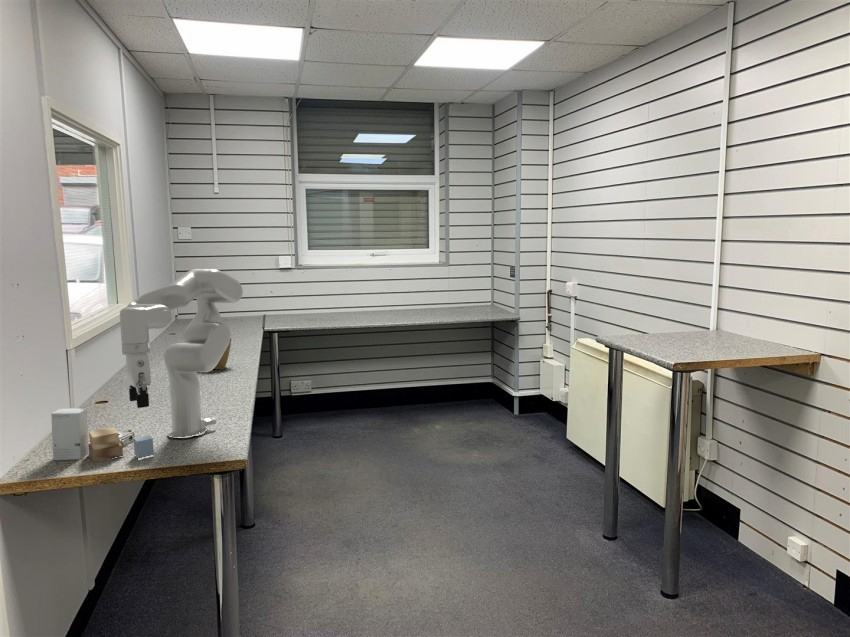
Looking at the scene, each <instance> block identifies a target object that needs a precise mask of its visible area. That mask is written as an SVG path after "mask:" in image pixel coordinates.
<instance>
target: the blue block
mask: <svg viewBox="0 0 850 637" xmlns="http://www.w3.org/2000/svg"><path fill="white" fill-rule="evenodd" d="M132 439H133V450H134V452H133V453H134V456H135V455H136V457H137V458H142V457H146V456H150V455H154V454H155V453H154V440H153V439H154V438H153V437H152V436H151V435H150V434H147V435H142V436H135V437H133V438H132ZM154 456H155V455H154ZM136 457H135V458H136Z"/></svg>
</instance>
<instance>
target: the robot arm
mask: <svg viewBox="0 0 850 637" xmlns="http://www.w3.org/2000/svg"><path fill="white" fill-rule="evenodd" d="M243 292H244V291H243V287H242V284H241V283H240V281H238V280H237V278H235V277H233V276H231V275H229V274H227V273H226V272H223V271H221V270H219V269H214V268H203V269H202V268H193V269H190V270H187V271H186V272H185V273H184V274H182V275H181V276H179V277H178V278H177V279H176V280H174V281H173V282H171V283H170V284H169V285H167V286H163V287H160V288H158V289H155V290H152V291H150V292H149V291H148V292H147V293H144V294H141V295H139V296H138V297H136V298H135V299H134V300H132V301H131V302H129V303H128V305H127V306H126V307H124V308H122V309H120V310H119V322H120V336H121V339H120V340H121V352H122V355H124V356H125V361H126V362H125V363H126V364H125V366H126V380H127V382H128V393H129V401H130V402H136V407H137V409H142V408H148V407H149V406H150V397H149V388H148V386H151V385H152V377H151V376H152V375H151V367H150V360H149V355H148V354H149V353H151V349H150V348H151V347H150V333H149V332H150V331H149V330H150V329H151V330H152V329H153V330H154V329H163V328H166V327H167V326H169V325H170V323H171V321H172V318H173V314H172V311H173V310H177V309H181V308H184V307H186V306H187V305H189V304H190V303H191V302H192V301H193V300H195V299H196V303H197V311H196V313H195V315H194V316H193V318H192V320H191V321H190V322H189V324H188V325H187V327H186V328H185V330H184V332H183V333H182V341H183V342H176V343H172V344H170V345H169V346H167V348H166V349H165V351H164V355H163V360H164V364H165V368H166V369H165V370H166V372H167V376H168V386H169V400H170V402H169V403H170V412H171V413H170V416H171V429H170V430H168V431H167V436H168V435H169V436H172V437H185V436H192V435H196V434H199V432H200V433H202V432H204V431H205V430H206V429H207V430H208V426H211V425H216V424H217V420H216V418H209V417H208V418H203V417H202V406H201V390H200V388H201V387H200V385H201V384H200V380H199V377H198V376H197V373H208V372H212V371H214V370H213V369H214V368H215V367H216V365H217V364H218V362H219V360H220V359H221V357H222V355H223V354H224V352H225V350H226V349H227V347H228V345H229V342H230V337H232V335H231V329H230V327H229V326H228V325H227V323H225V322H222V321H221V313H220V311H219V309H218V308H217V306H216V304H217V303H218V304H220V303H221V304H223V303H225V304H234V303H237V302H239V301H240V300H241V298H242V297H243ZM206 427H207V428H206Z"/></svg>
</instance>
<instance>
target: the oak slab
mask: <svg viewBox="0 0 850 637" xmlns="http://www.w3.org/2000/svg"><path fill="white" fill-rule="evenodd" d="M88 433H89V434H88V438H89V444H90V445H91V446H92V448H93V450H98V449H103V448H108V447H113V446H118V445H119V442H120V438H119V437H120V435H119V431H118V430H117V429H116V428H115V426H112V427H108V428H107V427H106V428H101V429H97V430H90V431H88Z"/></svg>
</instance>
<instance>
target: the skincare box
mask: <svg viewBox="0 0 850 637" xmlns="http://www.w3.org/2000/svg"><path fill="white" fill-rule="evenodd" d="M50 416H51V436H52V440H51V441H52V459H53V461H67V460H69V461H70V460H71V461H72V460H74V461H75V460H77V461H78V460H82V459H83V458H84V457H86V456H87V455H89V446H88V444H89V434H88V433H89V431H88V430H89V429H88V428H89V426H88V409H87V408H75V407H73V408H59V409H57V410H55V411H53V412H51V415H50Z"/></svg>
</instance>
